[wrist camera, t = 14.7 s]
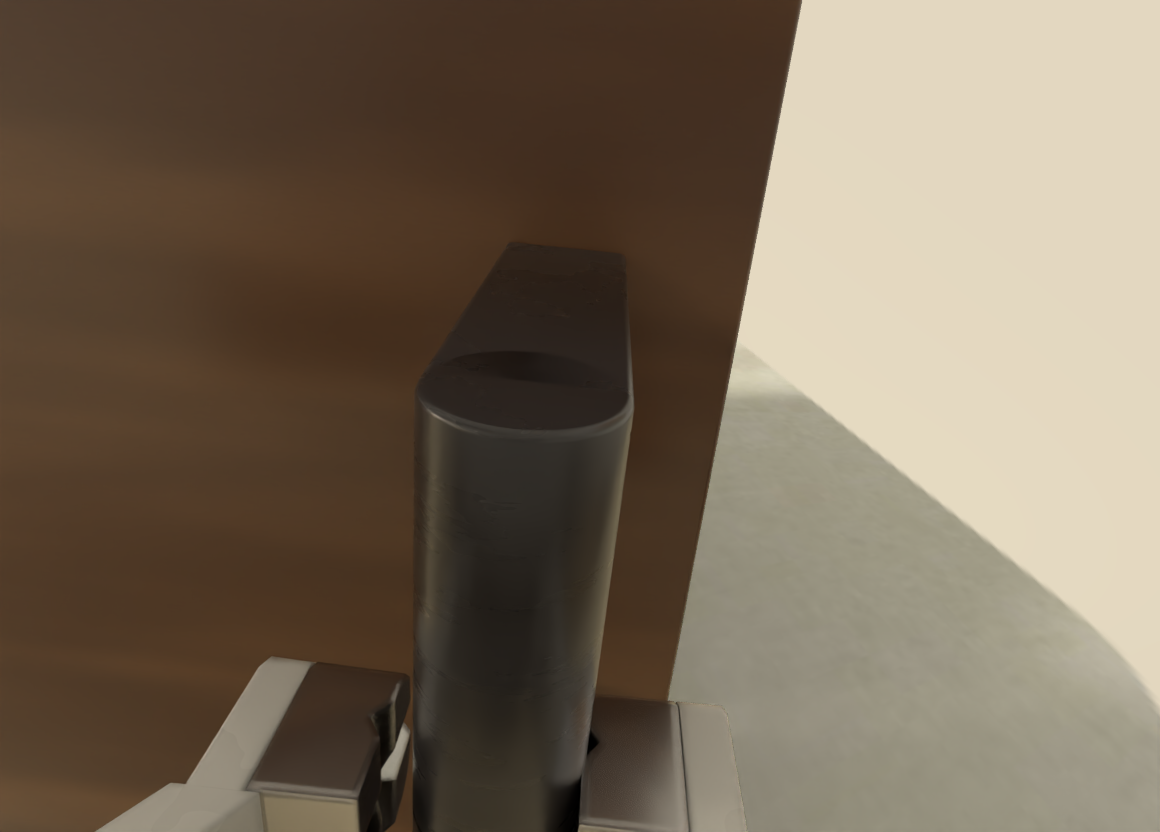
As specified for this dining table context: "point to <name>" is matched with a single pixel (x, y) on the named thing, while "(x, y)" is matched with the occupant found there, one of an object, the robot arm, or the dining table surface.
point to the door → (362, 371)
